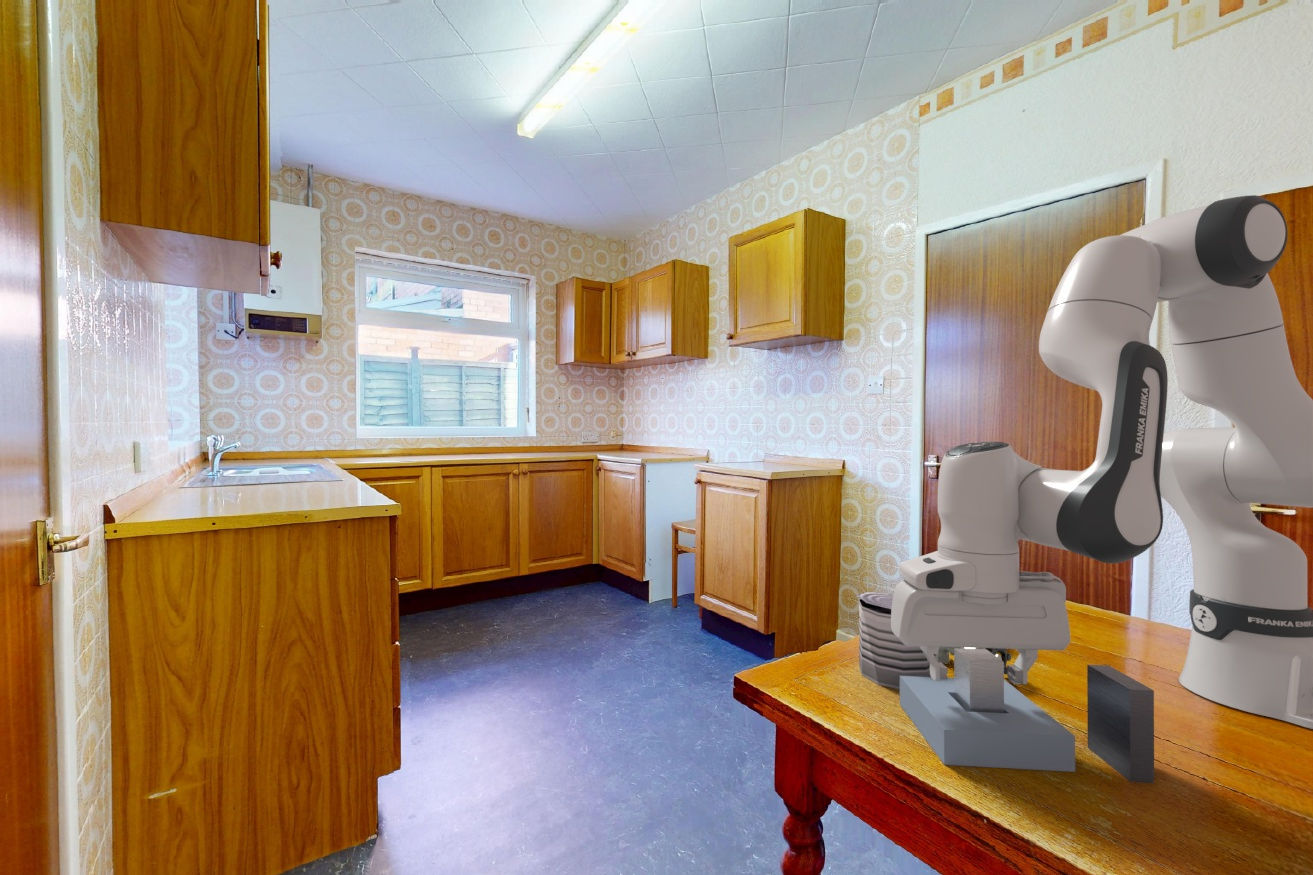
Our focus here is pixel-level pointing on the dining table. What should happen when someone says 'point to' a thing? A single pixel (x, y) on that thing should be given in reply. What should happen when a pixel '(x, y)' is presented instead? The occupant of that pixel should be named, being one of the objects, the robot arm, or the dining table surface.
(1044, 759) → the bore block
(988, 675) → the square bit
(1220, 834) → the dining table surface
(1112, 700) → the dark grey rectangular slab
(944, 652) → the valve
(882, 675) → the can
